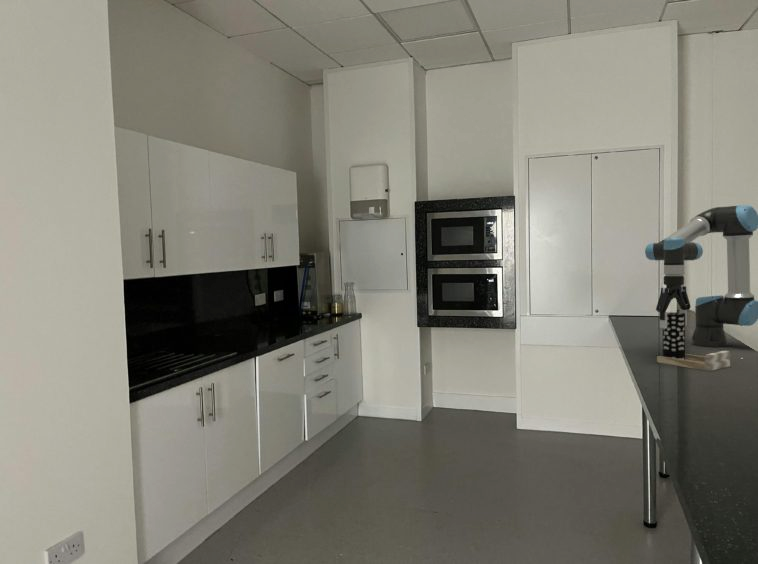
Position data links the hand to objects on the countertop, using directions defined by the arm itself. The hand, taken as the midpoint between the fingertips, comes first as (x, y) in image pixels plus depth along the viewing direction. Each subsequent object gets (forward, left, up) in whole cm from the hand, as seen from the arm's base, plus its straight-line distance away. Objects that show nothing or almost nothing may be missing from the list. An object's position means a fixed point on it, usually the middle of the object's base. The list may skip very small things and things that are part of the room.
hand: (673, 326), depth 245 cm
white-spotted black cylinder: (0, 0, -15) cm, 15 cm away
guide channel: (0, +7, -15) cm, 16 cm away
